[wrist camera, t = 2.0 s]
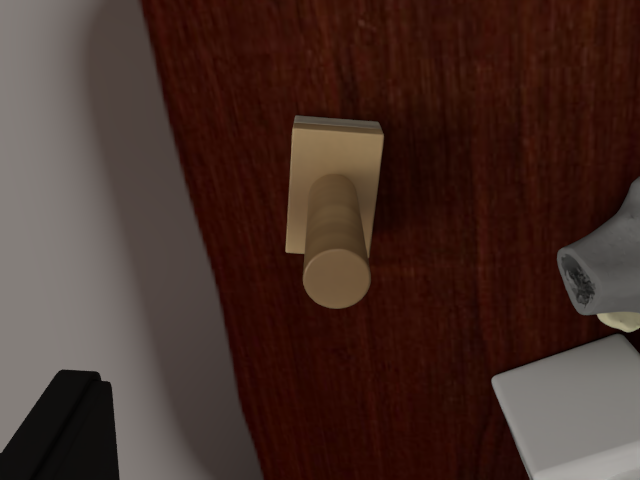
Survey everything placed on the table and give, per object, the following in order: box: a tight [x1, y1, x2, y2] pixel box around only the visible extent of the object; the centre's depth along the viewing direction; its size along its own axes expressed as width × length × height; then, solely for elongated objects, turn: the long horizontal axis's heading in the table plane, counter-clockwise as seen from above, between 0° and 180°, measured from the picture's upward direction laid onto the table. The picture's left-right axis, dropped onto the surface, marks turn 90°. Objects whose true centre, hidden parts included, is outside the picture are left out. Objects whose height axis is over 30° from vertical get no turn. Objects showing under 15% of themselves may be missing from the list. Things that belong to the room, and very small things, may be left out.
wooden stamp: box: [286, 116, 384, 309], centre depth 23 cm, size 6×4×11 cm, turn 176°
